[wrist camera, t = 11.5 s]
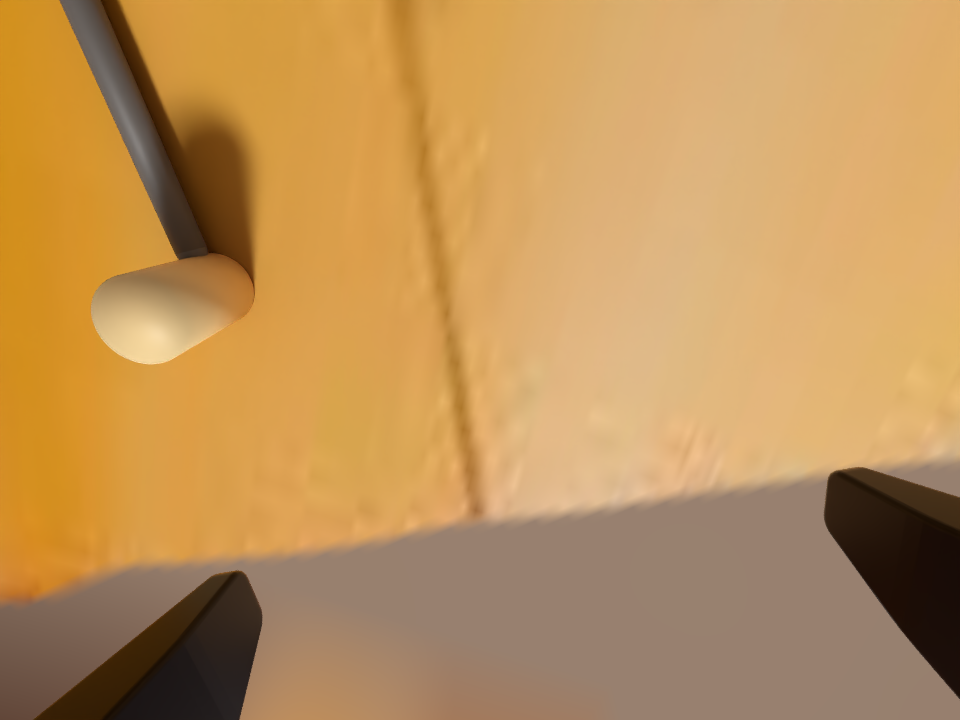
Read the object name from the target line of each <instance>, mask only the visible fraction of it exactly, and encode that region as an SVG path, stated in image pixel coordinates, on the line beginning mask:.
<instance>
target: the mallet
mask: <svg viewBox="0 0 960 720" xmlns="http://www.w3.org/2000/svg"><path fill="white" fill-rule="evenodd" d="M60 2H61V5H62V7H63V9H64V11H65V13H66V16H67V18H68V20H69V22H70V24H71V27H72V29H73V31H74V33H75V35H76V38H77V40H78V42H79V44H80V46H81V48H82V51H83V53H84V55H85V57H86V59H87V62H88V64H89V66H90V68H91V70H92V73H93V75H94V77H95V79H96V81H97V84H98V86H99V88H100V90H101V92H102V95H103V97H104V99H105V101H106V103H107V105H108V108H109V110H110V112H111V114H112V116H113V119H114V121H115V123H116V125H117V127H118V130H119V132H120V134H121V136H122V138H123V141H124V143H125V145H126V147H127V149H128V152H129V154H130V156H131V158H132V160H133V162H134V165H135V167H136V169H137V171H138V173H139V176H140V178H141V180H142V182H143V184H144V187H145V189H146V191H147V193H148V195H149V198H150V200H151V202H152V204H153V206H154V209H155V211H156V213H157V215H158V217H159V219H160V222H161V224H162V226H163V228H164V230H165V233H166V235H167V237H168V239H169V241H170V244H171V246H172V248H173V250H174V252H175V255H176V256H177V258H178V259H179V260H177V261H173V262H169V263H165V264H161V265H157V266H153V267H149V268H145V269H141V270H137V271H133V272H129V273H125V274H121V275H117V276H114V277H112V278H110V279H108V280H106V281H105V282H104V283H102V284H101V285H100V286H99V287H98V289H97V290H96V292H95V294H94V296H93V299H92V304H91V315H92V320H93V323H94V326H95V328H96V330H97V332H98V334H99V335H100V337H101V338H102V340H103V341H104V342H105V343H106V344H107V345H108V346H109V347H110V348H111V349H112V350H113V351H115V352H116V353H118V354H119V355H121V356H123V357H124V358H126V359H129V360H131V361H134V362H138V363H143V364H159V363H164V362H167V361H169V360H171V359H173V358H175V357H177V356H178V355H180V354H182V353H183V352H185V351H187V350H188V349H190V348H192V347H193V346H195V345H197V344H199V343H200V342H202V341H204V340H205V339H207V338H209V337H210V336H212V335H214V334H215V333H217V332H219V331H221V330H222V329H224V328H226V327H227V326H229V325H231V324H232V323H234V322H236V321H237V320H239V319H241V318H242V317H244V316H245V315H246V314H247V313H248V312H249V310H250V308H251V307H252V304H253V300H254V288H253V284H252V281H251V279H250V276H249V275H248V273H247V272H246V270H245V269H244V268H243V267H242V266H241V265H240V264H239V263H237V262H236V261H235V260H233V259H231V258H229V257H227V256H225V255H221V254H216V253H208V249H207V246H206V244H205V241H204V239H203V237H202V234H201V232H200V230H199V227H198V225H197V223H196V220H195V218H194V216H193V213H192V211H191V209H190V206H189V204H188V202H187V199H186V197H185V195H184V193H183V190H182V188H181V186H180V183H179V181H178V179H177V176H176V174H175V172H174V169H173V167H172V165H171V162H170V160H169V158H168V155H167V153H166V151H165V148H164V146H163V144H162V141H161V139H160V137H159V134H158V132H157V130H156V128H155V125H154V123H153V121H152V118H151V116H150V114H149V111H148V109H147V107H146V104H145V102H144V100H143V97H142V95H141V93H140V90H139V88H138V86H137V83H136V81H135V79H134V76H133V74H132V72H131V69H130V67H129V65H128V63H127V60H126V58H125V56H124V53H123V51H122V49H121V46H120V44H119V42H118V39H117V37H116V35H115V32H114V30H113V28H112V25H111V23H110V21H109V18H108V16H107V14H106V11H105V9H104V7H103V4H102V2H101V0H60Z"/></svg>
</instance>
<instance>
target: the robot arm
mask: <svg viewBox="0 0 960 720" xmlns="http://www.w3.org/2000/svg"><path fill="white" fill-rule="evenodd" d="M824 520H825V524H826V526H827V529H828V531H829V532H830V534H831V535H832V537H833V538H834V539H835V541H836V542H837V543H838V545H839V546H840V548H841V549H842V550H843V552H844V553H845V554H846V556H847V557H848V559H849V560H850V561H851V563H852V564H853V565H854V567H855V568H856V570H857V571H858V572H859V574H860V575H861V576H862V578H863V579H864V581H865V582H866V584H867V585H868V586H869V588H870V589H871V590H872V592H873V593H874V595H875V596H876V597H877V599H878V600H879V602H880V603H881V604H882V605H883V607H884V608H885V610H886V611H887V612H888V614H889V615H890V617H891V618H892V619H893V620H894V622H895V623H896V624H897V626H898V627H899V628H900V629H901V631H902V632H903V633H904V634H905V636H906V637H907V638H908V639H909V641H910V642H911V643H912V644H913V645H914V647H915V648H916V649H917V650H918V651H919V652H920V654H921V655H922V656H923V657H924V658H925V659H926V660H927V662H928V663H929V664H930V665H931V666H932V668H933V669H934V670H935V671H936V672H937V673H938V674H939V676H940V677H941V678H942V679H943V680H944V682H945V683H946V684H947V685H948V686H949V687H950V689H951V690H952V691H953V692H954V693H955V694H956V696H957V697H958V698H959V699H960V497H957V496H954V495H950V494H947V493H944V492H941V491H937V490H934V489H931V488H928V487H925V486H922V485H918V484H915V483H912V482H908V481H905V480H902V479H899V478H896V477H893V476H889V475H886V474H883V473H880V472H877V471H874V470H870V469H867V468H863V467H854V468H848V469H842V470H836V471H834V472H832V473H831V474H830V475H829V477H828V480H827V489H826V498H825V508H824ZM261 627H262V610H261V607H260V605H259V602H258V600H257V598H256V596H255V593H254V591H253V589H252V586H251V584H250V583H249V580H248V577H247V576H246V574H245V573H243V572H242V571H231V572H225V573H219V574H215V575H213V576H211V577H210V578H209V579H207V580H206V581H205V582H204V583H202V584H201V585H200V586H199V587H197V588H196V589H195V590H194V591H192V593H190V594H189V595H188V596H186V597H185V598H184V599H183V600H181V601H180V602H179V603H178V604H176V605H175V606H174V607H173V608H171V609H170V610H169V611H168V612H166V613H165V614H164V615H163V616H161V617H160V618H159V619H158V620H157V621H155V622H154V623H153V624H151V625H150V626H149V627H148V628H146V629H145V630H144V631H143V632H142V633H140V634H139V635H138V636H137V637H135V638H134V639H133V640H132V641H131V642H129V643H128V644H127V645H125V646H124V647H123V648H122V649H120V650H119V651H118V652H117V653H115V654H114V655H113V656H112V657H111V658H109V659H108V660H107V661H105V662H104V663H103V664H102V665H100V667H98V668H97V669H96V670H94V671H93V672H92V673H91V674H89V675H88V676H87V677H86V678H84V679H83V680H82V681H81V682H80V683H78V684H77V685H76V686H74V687H73V688H72V689H71V690H69V691H68V692H67V693H66V694H64V695H63V696H62V697H61V698H59V699H58V700H57V701H56V702H54V703H53V704H52V705H51V706H50V707H48V708H47V709H46V710H45V711H43V712H42V713H41V714H40V715H38V716H37V717H36V718H35V719H34V720H239V719H240V715H241V710H242V707H243V703H244V698H245V694H246V690H247V686H248V682H249V677H250V673H251V669H252V665H253V661H254V656H255V652H256V648H257V644H258V640H259V635H260V631H261Z"/></svg>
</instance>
